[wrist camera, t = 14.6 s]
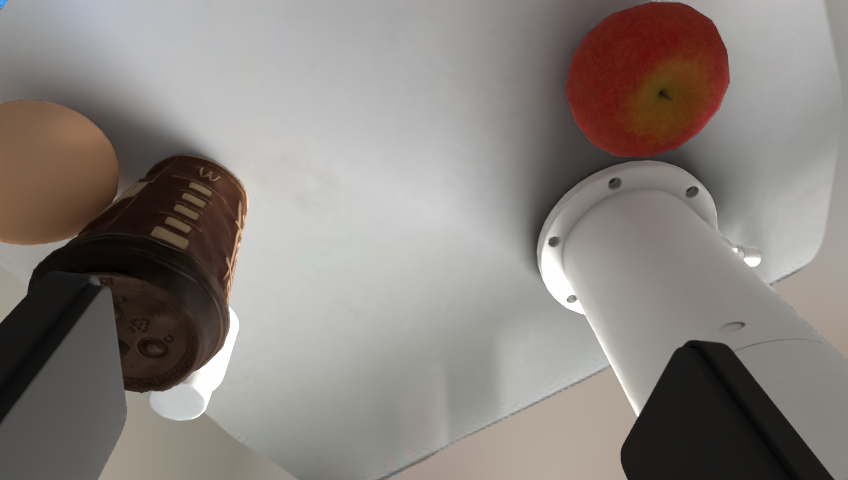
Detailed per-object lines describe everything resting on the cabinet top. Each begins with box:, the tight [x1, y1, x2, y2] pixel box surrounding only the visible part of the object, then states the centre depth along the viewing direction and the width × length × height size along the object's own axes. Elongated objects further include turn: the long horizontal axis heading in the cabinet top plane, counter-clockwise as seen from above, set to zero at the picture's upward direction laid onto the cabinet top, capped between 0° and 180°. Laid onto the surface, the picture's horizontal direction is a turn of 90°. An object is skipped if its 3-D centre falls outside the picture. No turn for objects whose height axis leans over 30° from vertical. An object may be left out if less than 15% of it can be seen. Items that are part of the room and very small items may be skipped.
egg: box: [0, 100, 120, 245], centre depth 29 cm, size 7×7×8 cm
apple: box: [565, 2, 730, 157], centre depth 29 cm, size 8×8×8 cm
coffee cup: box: [27, 154, 248, 393], centre depth 29 cm, size 9×8×13 cm
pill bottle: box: [148, 308, 238, 420], centre depth 37 cm, size 4×4×8 cm
